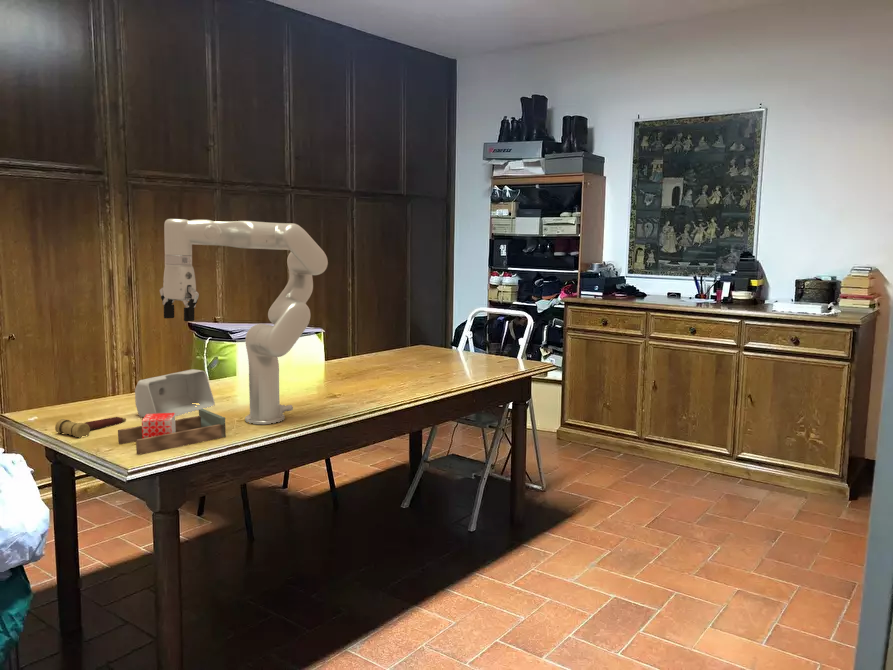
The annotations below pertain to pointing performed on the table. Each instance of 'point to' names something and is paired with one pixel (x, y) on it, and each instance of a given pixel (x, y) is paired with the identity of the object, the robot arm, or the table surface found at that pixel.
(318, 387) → the table surface
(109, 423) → the gavel
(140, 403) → the grey open box shell
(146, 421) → the red patterned cube
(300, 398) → the table surface
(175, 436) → the crate bay
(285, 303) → the robot arm
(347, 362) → the table surface
